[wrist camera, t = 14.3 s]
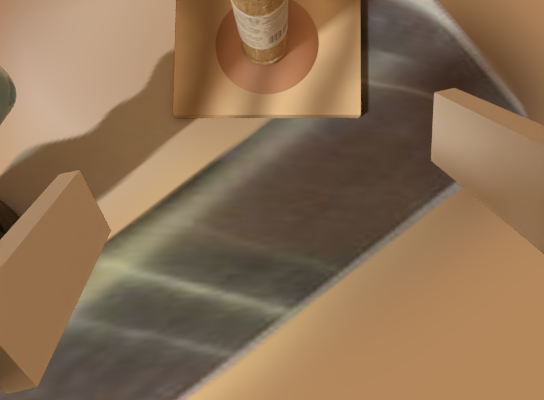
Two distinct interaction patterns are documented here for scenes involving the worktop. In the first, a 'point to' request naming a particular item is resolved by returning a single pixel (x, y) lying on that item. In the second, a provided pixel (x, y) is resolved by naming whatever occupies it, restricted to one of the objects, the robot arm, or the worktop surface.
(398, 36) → the worktop surface
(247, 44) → the sprinkles bottle
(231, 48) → the mat
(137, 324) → the worktop surface
